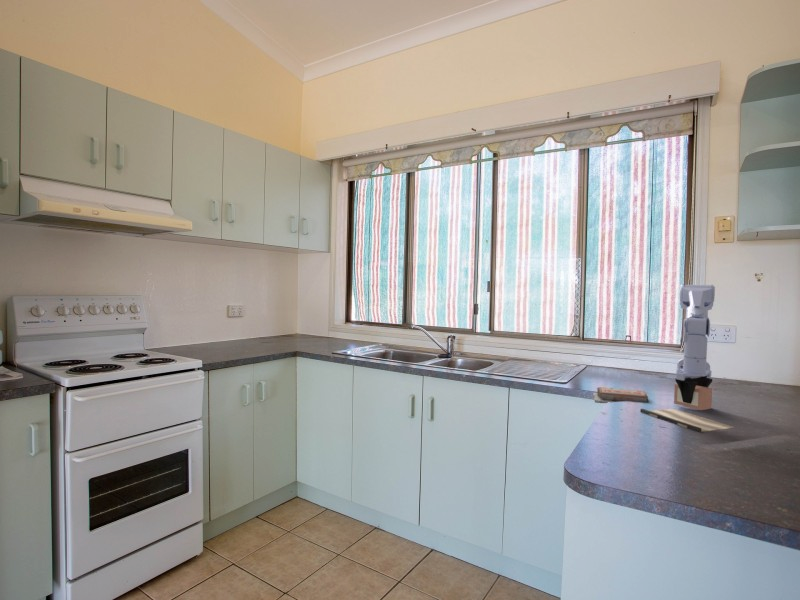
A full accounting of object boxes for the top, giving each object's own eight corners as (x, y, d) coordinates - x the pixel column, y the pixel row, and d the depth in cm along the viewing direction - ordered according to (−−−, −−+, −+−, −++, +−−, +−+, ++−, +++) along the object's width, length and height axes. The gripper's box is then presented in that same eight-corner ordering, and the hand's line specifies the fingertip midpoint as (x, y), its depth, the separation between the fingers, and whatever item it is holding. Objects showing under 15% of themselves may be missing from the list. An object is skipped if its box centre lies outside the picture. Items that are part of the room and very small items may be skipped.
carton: (683, 401, 138) (684, 382, 137) (711, 408, 130) (712, 388, 130) (673, 403, 135) (674, 384, 135) (701, 410, 128) (701, 390, 128)
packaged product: (645, 389, 164) (650, 395, 155) (644, 402, 165) (649, 409, 155) (593, 384, 171) (595, 390, 161) (592, 396, 171) (594, 403, 162)
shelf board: (673, 412, 149) (674, 405, 149) (734, 432, 131) (735, 424, 130) (639, 416, 145) (639, 408, 144) (697, 437, 126) (698, 428, 126)
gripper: (695, 353, 139) (693, 396, 139) (667, 356, 132) (664, 400, 133) (719, 357, 133) (717, 401, 133) (691, 360, 126) (688, 406, 127)
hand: (692, 401), depth 133 cm, fingers closed on carton, 5 cm apart
